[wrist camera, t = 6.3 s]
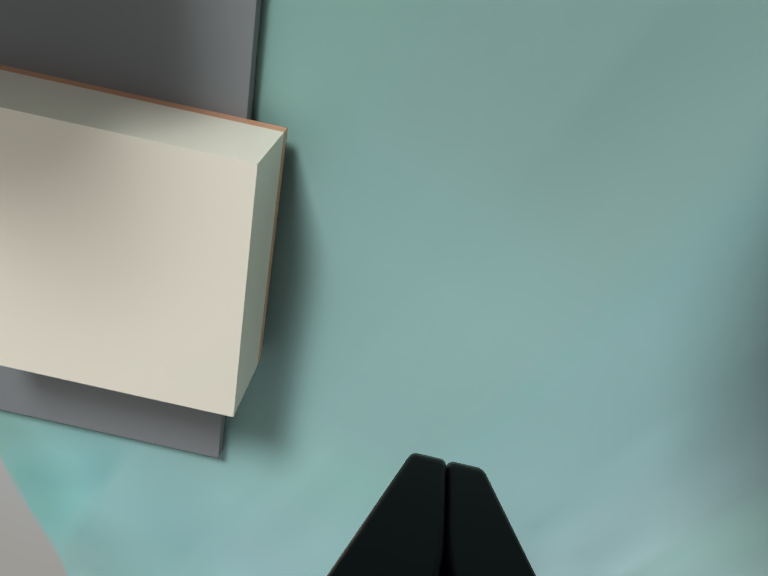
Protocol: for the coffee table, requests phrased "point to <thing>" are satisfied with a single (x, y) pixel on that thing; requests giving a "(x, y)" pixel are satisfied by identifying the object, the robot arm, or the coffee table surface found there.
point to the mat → (150, 79)
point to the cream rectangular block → (134, 240)
